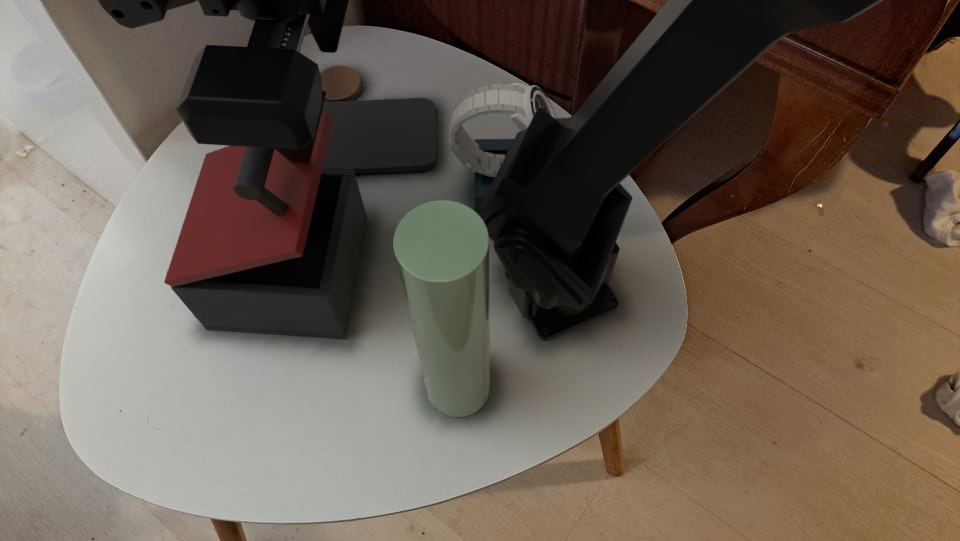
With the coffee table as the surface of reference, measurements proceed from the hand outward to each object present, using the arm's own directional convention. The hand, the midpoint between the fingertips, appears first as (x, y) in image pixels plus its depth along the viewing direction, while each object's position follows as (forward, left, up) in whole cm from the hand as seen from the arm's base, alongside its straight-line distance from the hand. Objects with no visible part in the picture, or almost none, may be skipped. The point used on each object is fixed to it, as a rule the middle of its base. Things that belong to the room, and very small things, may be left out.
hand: (316, 103), depth 46 cm
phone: (-2, -7, -13) cm, 15 cm away
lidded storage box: (+6, +3, -13) cm, 15 cm away
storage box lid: (+6, +3, -4) cm, 8 cm away
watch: (-12, +3, -13) cm, 18 cm away
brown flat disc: (-4, -13, -13) cm, 19 cm away
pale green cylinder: (-2, +17, -13) cm, 21 cm away
